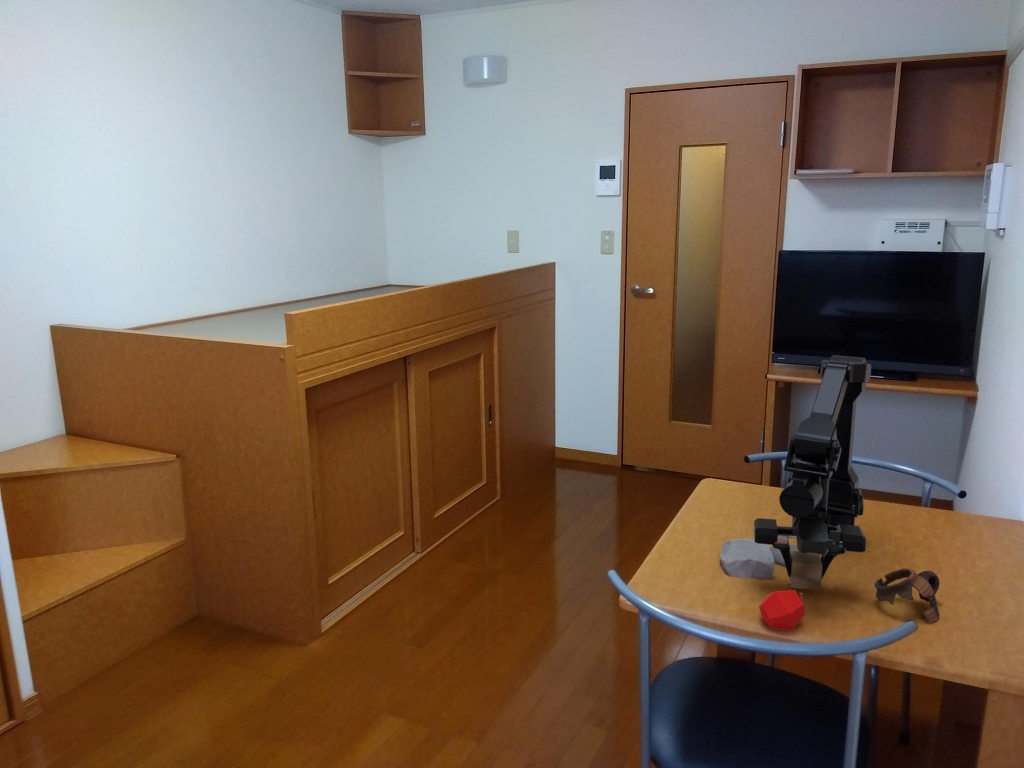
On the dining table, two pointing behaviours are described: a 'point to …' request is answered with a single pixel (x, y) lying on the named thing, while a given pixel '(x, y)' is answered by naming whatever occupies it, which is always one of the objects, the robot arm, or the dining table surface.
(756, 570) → the stone block
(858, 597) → the dining table surface
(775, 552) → the slate coaster
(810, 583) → the walnut cube
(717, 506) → the dining table surface
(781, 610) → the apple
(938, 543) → the dining table surface
